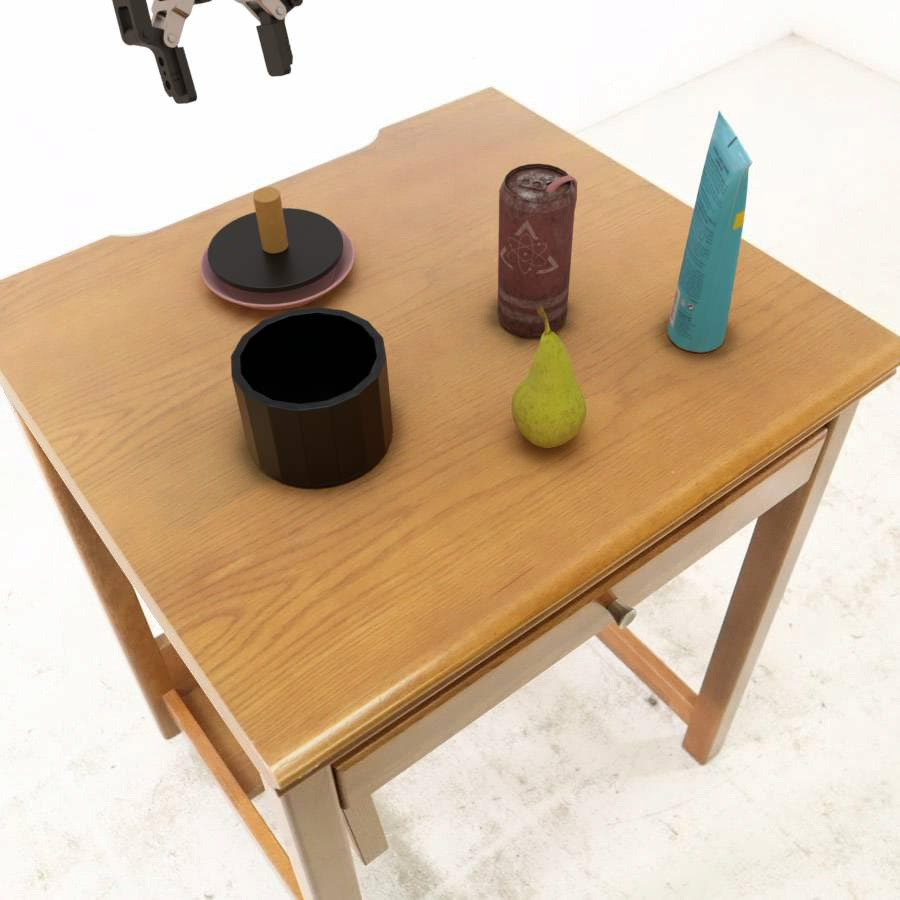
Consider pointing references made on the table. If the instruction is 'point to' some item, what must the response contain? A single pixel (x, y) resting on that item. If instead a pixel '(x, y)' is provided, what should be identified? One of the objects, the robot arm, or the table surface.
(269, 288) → the lid
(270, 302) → the plate
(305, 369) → the tin
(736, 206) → the tube
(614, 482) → the table surface
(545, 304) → the can
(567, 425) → the fruit
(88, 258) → the table surface
